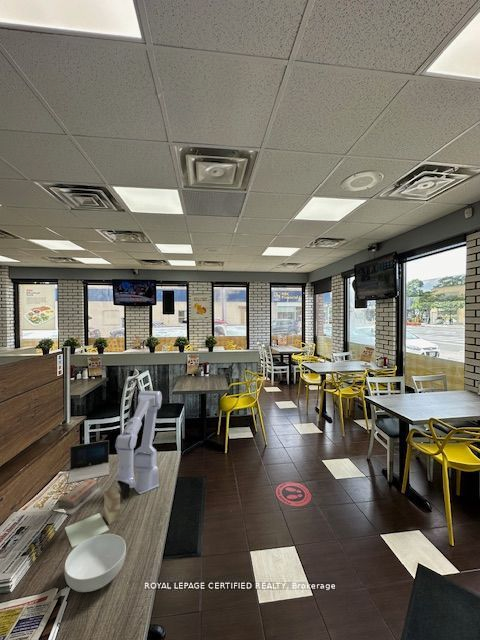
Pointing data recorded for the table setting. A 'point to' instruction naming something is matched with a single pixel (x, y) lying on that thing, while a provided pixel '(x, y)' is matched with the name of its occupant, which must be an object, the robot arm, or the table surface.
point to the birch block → (112, 505)
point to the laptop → (89, 461)
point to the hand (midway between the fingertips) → (125, 497)
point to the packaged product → (78, 496)
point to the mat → (86, 529)
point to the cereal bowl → (95, 562)
